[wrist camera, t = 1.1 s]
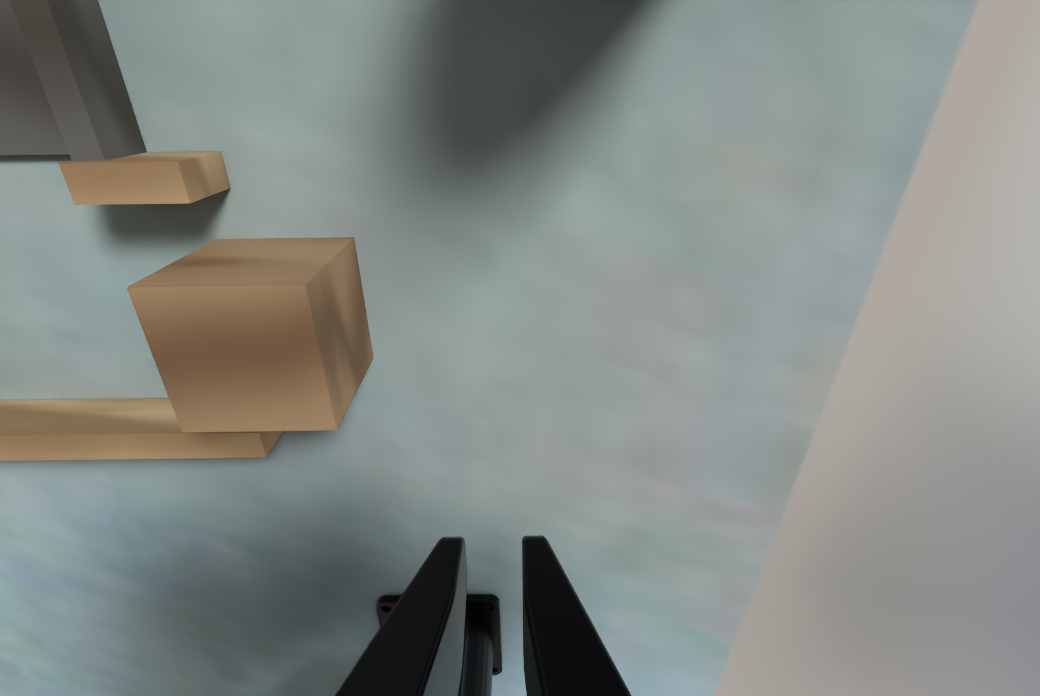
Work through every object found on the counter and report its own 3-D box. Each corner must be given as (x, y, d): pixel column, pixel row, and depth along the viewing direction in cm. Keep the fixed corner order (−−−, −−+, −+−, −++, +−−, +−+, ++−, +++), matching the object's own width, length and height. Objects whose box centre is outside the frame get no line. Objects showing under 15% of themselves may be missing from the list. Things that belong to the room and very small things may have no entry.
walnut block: (373, 356, 21) (336, 430, 17) (252, 358, 21) (182, 432, 17) (354, 236, 19) (305, 285, 14) (218, 238, 19) (126, 287, 14)
